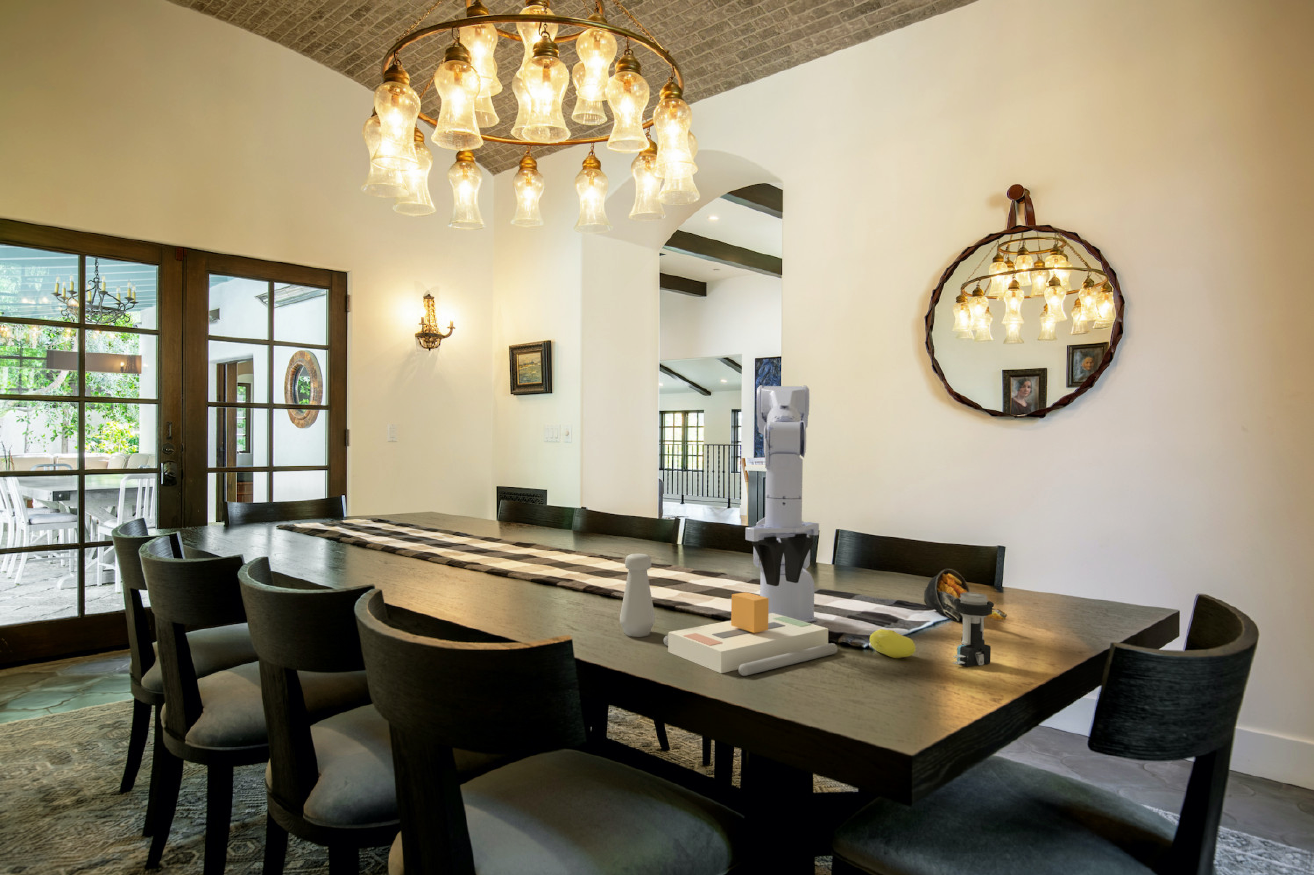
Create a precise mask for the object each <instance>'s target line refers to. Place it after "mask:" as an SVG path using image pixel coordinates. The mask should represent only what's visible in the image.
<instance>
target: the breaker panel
mask: <svg viewBox="0 0 1314 875" xmlns="http://www.w3.org/2000/svg"><path fill="white" fill-rule="evenodd" d="M667 636H668V646H667V652H668V653H670V654H672V655H674V656H677V657H679V658H682V659H684V660H686V661H689V662H691V663H695V664H696V665H699V666H702V667H704V668H707V669H709V670H712V671H714V672H717V673H719V674H724V673H728V672H731V671H737V670H738V668H739V666H740V665H741V664H744V663H748V662H753V661H757V660H761V659H766V658H770V657H774V656H778V655H783V654H787V653H791V652H795V651H800V650H804V649H808V648H813V647H817V646H821V645H825V644H829V628H828V627H824V626H821V625H817V624H814V623H811V622H803V621H800V620H796V619H793V618H789V617H786V616H782V615H779V614H775V613H769V614H768V630H765V631H760V632H755V633H753V632H750V631H747V630H744V629H741V628H737V627H734V626H731V620H725V621H721V622H717V623H710V624H705V625H700V626H699V625H698V626H694V627H689V628H684V629H677V630H672V631H668V634H667Z"/></svg>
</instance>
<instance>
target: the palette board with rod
mask: <svg viewBox="0 0 1314 875" xmlns="http://www.w3.org/2000/svg"><path fill="white" fill-rule="evenodd" d="M663 643H664V645H665V646H667V647H668V635H665V636H664V637H663ZM837 652H838V646H837V644H835V643H832V642H831V643H828V644H825V645H821V646H817V647H813V648H808V649H804V650H800V651H795V652H791V653H787V654H783V655H778V656H774V657H770V658H766V659H761V660H757V661H753V662H748V663H744V664H741V665H740V666H739V668H738V669H737V670H738V674H740V675H741V676H743V677H746V676H751V675H754V674H755V675H756V674H759V673H762V672H767V671H771V670H774V669H779V668H782V667H783V668H784V667H786V666H791V665H795V664H798V663H799V664H800V663H803V662H807V661H811V660H815V659H819V658H820V659H821V658H823V657H824V658H825V657H828V656H832V655H835V654H836V653H837Z"/></svg>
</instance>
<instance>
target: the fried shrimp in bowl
mask: <svg viewBox="0 0 1314 875" xmlns="http://www.w3.org/2000/svg"><path fill="white" fill-rule="evenodd" d="M965 592H971V591H970V589H969V585H968V583H967V581H966V580H965V578H964V577H963V576H962V575H961V574H960V572H958V571H956V570H954V569H952V568H944V569H942V570H941V571H940V572H938V574H937V575H935V576H933V577H932V578H931V579H930V581H929V582H928V584H927V587H926V588H925V589H924V592H923V602H924V604H925V605H926V606H927V607H929V608H931V609H934V610H935V611H936V612H938V613H940V614H943V615H945V616H946V617H948V618H950V619H952V620H954V621H955V622H960V620H962V621H963V617H962V615H961V614H960V613H959V612H957V611H956V610H955V605H956V604H955V603H954V599H957V598H960V597H961V593H965ZM1007 617H1008V615H1007V613H1006V612H1004V611H1003V610H1001V609H999V608H994V607H992V614H990V615H988V616H987V617H986V618H992V619H993V620H998V621H999V620H1001V621H1002V620H1003V621H1004V620H1006V619H1007Z"/></svg>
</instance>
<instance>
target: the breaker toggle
mask: <svg viewBox="0 0 1314 875" xmlns="http://www.w3.org/2000/svg"><path fill="white" fill-rule="evenodd" d="M768 614H769V598H766V597H762V596H760V594H759V595H758V594H754V593H751V592H747V591H745V592H744V591H743V592H738V593H733V594H731V615H730V616H731V618H730V621H731V626H734V627H737V628H741V629H744V630H747V631H750V632H753V633H755V632H760V631H765V630H768Z"/></svg>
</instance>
